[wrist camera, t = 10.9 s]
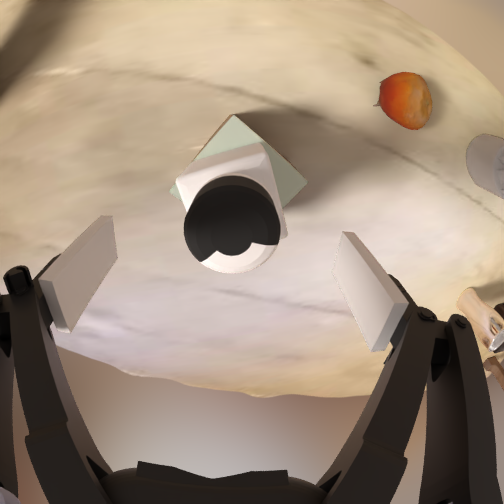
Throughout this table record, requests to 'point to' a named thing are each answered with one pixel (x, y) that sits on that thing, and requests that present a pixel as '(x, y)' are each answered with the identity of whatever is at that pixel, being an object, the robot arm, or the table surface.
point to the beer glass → (482, 319)
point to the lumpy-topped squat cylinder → (487, 163)
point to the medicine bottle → (232, 209)
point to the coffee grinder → (503, 312)
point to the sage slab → (242, 135)
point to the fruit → (406, 99)
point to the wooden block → (495, 369)
